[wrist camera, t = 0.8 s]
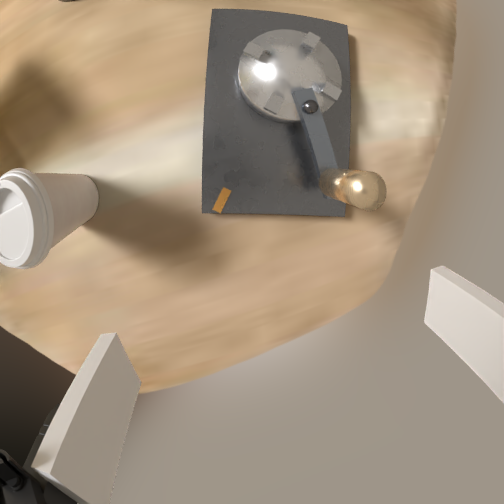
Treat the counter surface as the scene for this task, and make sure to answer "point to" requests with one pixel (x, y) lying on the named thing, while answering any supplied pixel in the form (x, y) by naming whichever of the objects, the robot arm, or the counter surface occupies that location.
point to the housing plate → (265, 125)
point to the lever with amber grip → (305, 105)
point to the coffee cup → (41, 213)
